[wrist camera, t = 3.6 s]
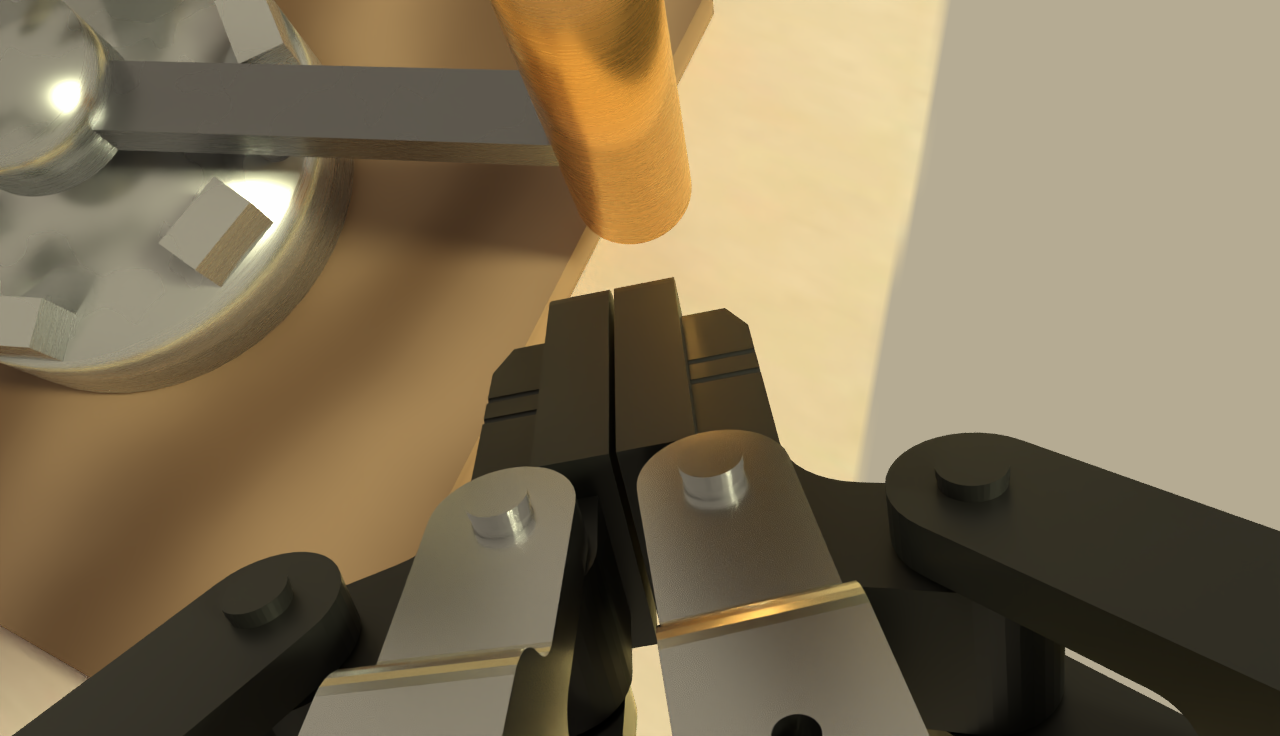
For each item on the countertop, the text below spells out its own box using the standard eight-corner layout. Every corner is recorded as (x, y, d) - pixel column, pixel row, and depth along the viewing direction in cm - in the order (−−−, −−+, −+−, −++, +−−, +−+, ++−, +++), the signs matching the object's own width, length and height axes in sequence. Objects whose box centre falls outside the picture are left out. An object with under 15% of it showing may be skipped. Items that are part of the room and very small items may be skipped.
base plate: (-336, 410, 31) (-398, 397, 29) (85, -204, 35) (52, -245, 34) (321, 787, 26) (291, 797, 24) (713, 13, 30) (710, -23, 29)
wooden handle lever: (-98, 378, 28) (-897, 128, 15) (11, 0, 31) (-568, -499, 18) (674, 434, 25) (574, 186, 12) (711, 11, 28) (666, -576, 15)
